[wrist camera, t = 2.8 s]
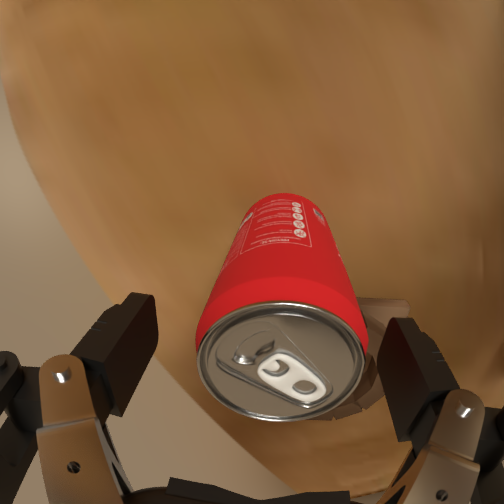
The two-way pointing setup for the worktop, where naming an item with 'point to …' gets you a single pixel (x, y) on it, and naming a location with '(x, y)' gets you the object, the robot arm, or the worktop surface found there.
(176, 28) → the worktop surface
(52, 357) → the robot arm
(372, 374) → the holder
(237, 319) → the beverage can
